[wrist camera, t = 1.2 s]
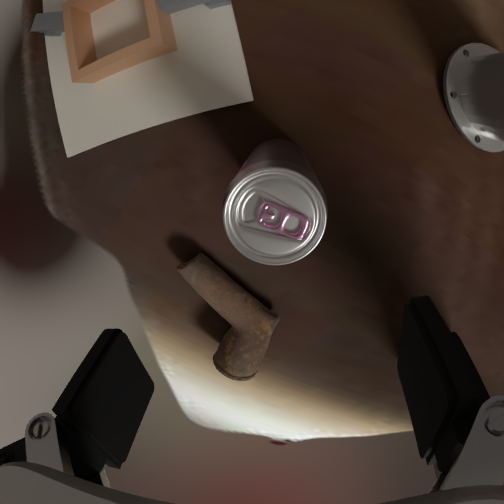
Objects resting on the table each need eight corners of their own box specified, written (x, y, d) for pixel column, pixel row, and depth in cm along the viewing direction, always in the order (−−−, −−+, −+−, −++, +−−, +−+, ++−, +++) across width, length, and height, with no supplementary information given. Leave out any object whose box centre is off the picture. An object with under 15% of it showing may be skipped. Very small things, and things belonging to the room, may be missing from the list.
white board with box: (209, -80, 17) (199, -101, 13) (253, 100, 27) (248, 98, 23) (46, -6, 21) (23, -12, 17) (71, 156, 31) (46, 165, 26)
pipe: (192, 254, 30) (135, 316, 32) (305, 351, 34) (244, 396, 36) (201, 236, 36) (150, 290, 38) (297, 322, 40) (244, 364, 42)
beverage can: (294, 205, 31) (303, 282, 18) (239, 183, 31) (205, 246, 17) (317, 151, 29) (349, 190, 15) (260, 129, 28) (240, 146, 15)
